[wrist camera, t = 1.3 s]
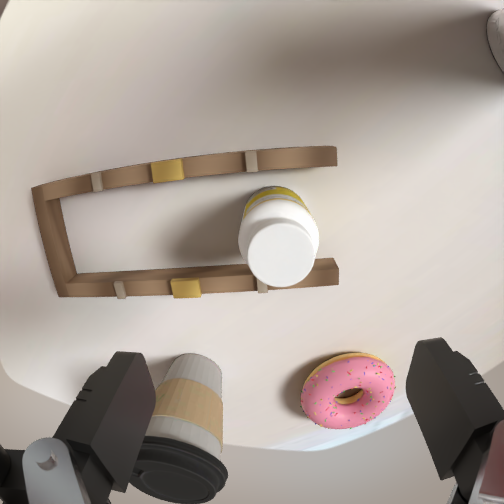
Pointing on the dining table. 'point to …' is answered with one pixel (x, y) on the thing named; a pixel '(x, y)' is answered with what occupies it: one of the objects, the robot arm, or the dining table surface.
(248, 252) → the supplement bottle
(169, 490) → the coffee cup
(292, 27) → the dining table surface
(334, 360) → the doughnut
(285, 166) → the wooden u-shaped frame
